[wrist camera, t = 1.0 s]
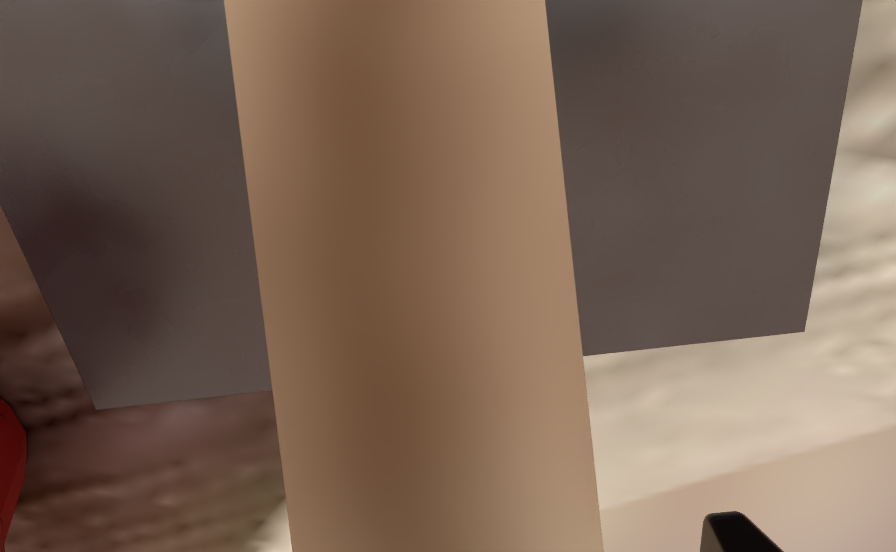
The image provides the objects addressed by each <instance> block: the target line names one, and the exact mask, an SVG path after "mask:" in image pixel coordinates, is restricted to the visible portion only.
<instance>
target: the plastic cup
mask: <svg viewBox="0 0 896 552" xmlns="http://www.w3.org/2000/svg"><path fill="white" fill-rule="evenodd" d="M26 461H27V443H26V432H25V430H24V429H23V427H22V425H21V424H20V422H19V420H18V419H17V417H16V415H15V414H14V412H13V410H12V409H11V407H10V406H9V405H8V404H7V403H6V402H4V401H3V400H2V399H1V398H0V552H5V548H4V542H5V539H6V535H7V532H8V529H9V526H10V523H11V520H12V517H13V513H14V510H15V507H16V504H17V501H18V498H19V495H20V492H21V488H22V485H23V482H24V479H25V464H26Z"/></svg>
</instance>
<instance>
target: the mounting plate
mask: <svg viewBox="0 0 896 552" xmlns="http://www.w3.org/2000/svg"><path fill="white" fill-rule="evenodd" d="M545 6H546V15H547V25H548V34H549V44H550V53H551V62H552V72H553V81H554V91H555V100H556V109H557V119H558V128H559V137H560V147H561V156H562V166H563V175H564V184H565V194H566V203H567V213H568V222H569V231H570V241H571V250H572V260H573V269H574V278H575V288H576V297H577V307H578V316H579V325H580V335H581V344H582V354H583V356H588V355H597V354H606V353H616V352H625V351H634V350H643V349H652V348H661V347H670V346H679V345H688V344H697V343H706V342H715V341H724V340H733V339H742V338H751V337H760V336H769V335H778V334H788V333H797V332H804V331H805V326H806V320H807V314H808V308H809V303H810V297H811V291H812V286H813V280H814V274H815V268H816V263H817V257H818V251H819V246H820V240H821V234H822V229H823V223H824V217H825V211H826V206H827V200H828V194H829V189H830V183H831V177H832V171H833V166H834V160H835V154H836V149H837V143H838V137H839V132H840V126H841V120H842V114H843V109H844V103H845V97H846V92H847V86H848V80H849V74H850V69H851V63H852V57H853V52H854V46H855V40H856V35H857V29H858V23H859V17H860V12H861V6H862V0H545ZM0 204H1V206H2V209H3V211H4V213H5V215H6V217H7V219H8V221H9V224H10V226H11V228H12V230H13V232H14V234H15V237H16V239H17V241H18V243H19V245H20V247H21V249H22V252H23V254H24V256H25V258H26V260H27V262H28V264H29V267H30V269H31V271H32V273H33V275H34V277H35V279H36V282H37V284H38V286H39V288H40V290H41V292H42V294H43V297H44V299H45V301H46V303H47V305H48V307H49V310H50V312H51V314H52V316H53V318H54V320H55V322H56V325H57V327H58V329H59V331H60V333H61V335H62V337H63V340H64V342H65V344H66V346H67V348H68V350H69V352H70V355H71V357H72V359H73V361H74V363H75V365H76V367H77V370H78V372H79V374H80V376H81V378H82V380H83V383H84V385H85V387H86V389H87V391H88V393H89V395H90V398H91V400H92V402H93V404H94V406H95V408H96V410H99V409H108V408H117V407H127V406H136V405H145V404H154V403H163V402H172V401H181V400H190V399H199V398H208V397H217V396H226V395H235V394H244V393H253V392H262V391H271V390H272V382H271V374H270V366H269V358H268V350H267V342H266V334H265V326H264V318H263V310H262V302H261V294H260V286H259V278H258V270H257V262H256V254H255V246H254V238H253V230H252V222H251V214H250V206H249V198H248V190H247V182H246V174H245V166H244V158H243V150H242V142H241V134H240V126H239V118H238V110H237V102H236V94H235V86H234V78H233V70H232V62H231V54H230V45H229V37H228V29H227V21H226V13H225V5H224V0H0Z"/></svg>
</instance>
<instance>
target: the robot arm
mask: <svg viewBox="0 0 896 552" xmlns="http://www.w3.org/2000/svg"><path fill="white" fill-rule="evenodd" d="M700 552H783V551H782V550H781V549H780V548H779V547H778V546H777V545H776V544H775V543H774V542H773V541H772V540H771V539H770V538H769V537H768V536H766V535H765V534H764V533H763V532H762V531H761V530H760V529H759V528H758V527H757V526H756V525H755V524H754V523H753V522H752V521H751V520H749V519H748V518H747V517H746V516H745V515H744V514H742V513H740V512H737V511H732V512H721V513H712V514H708V515H707V516H706V517H705V519H704V521H703V528H702V537H701V546H700Z"/></svg>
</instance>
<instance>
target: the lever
mask: <svg viewBox="0 0 896 552" xmlns="http://www.w3.org/2000/svg"><path fill="white" fill-rule="evenodd" d="M224 5H225V13H226V21H227V29H228V37H229V45H230V54H231V62H232V70H233V78H234V86H235V94H236V102H237V110H238V118H239V126H240V134H241V142H242V150H243V158H244V166H245V174H246V182H247V190H248V198H249V206H250V214H251V222H252V230H253V238H254V246H255V254H256V262H257V270H258V278H259V286H260V294H261V302H262V310H263V318H264V326H265V334H266V342H267V350H268V358H269V366H270V374H271V382H272V390H273V398H274V406H275V414H276V422H277V430H278V438H279V446H280V454H281V463H282V471H283V479H284V487H285V495H286V503H287V511H288V519H289V527H290V535H291V543H292V551H293V552H604V551H603V542H602V533H601V523H600V513H599V504H598V495H597V485H596V476H595V466H594V457H593V448H592V438H591V429H590V419H589V410H588V401H587V391H586V382H585V372H584V363H583V354H582V344H581V335H580V325H579V316H578V307H577V297H576V288H575V278H574V269H573V260H572V250H571V241H570V231H569V222H568V213H567V203H566V194H565V184H564V175H563V166H562V156H561V147H560V137H559V128H558V119H557V109H556V100H555V91H554V81H553V72H552V62H551V53H550V44H549V34H548V25H547V15H546V6H545V0H224Z"/></svg>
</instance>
